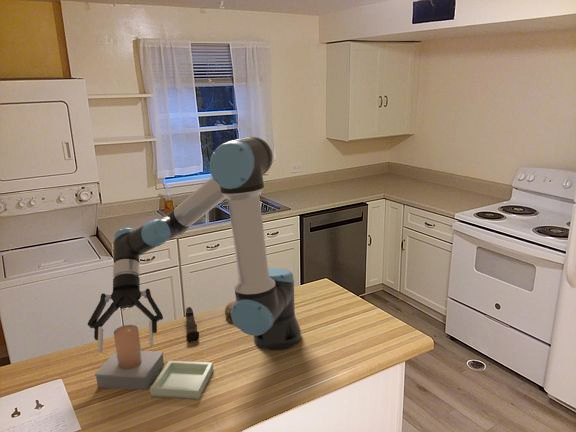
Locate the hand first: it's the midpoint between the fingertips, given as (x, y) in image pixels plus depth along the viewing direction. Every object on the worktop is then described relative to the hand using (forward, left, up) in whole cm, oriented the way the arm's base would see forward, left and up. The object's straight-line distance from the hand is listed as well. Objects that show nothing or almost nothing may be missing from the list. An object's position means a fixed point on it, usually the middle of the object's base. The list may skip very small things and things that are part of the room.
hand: (126, 348), depth 127 cm
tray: (-16, +1, -9) cm, 19 cm away
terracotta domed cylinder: (0, -1, -5) cm, 5 cm away
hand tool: (-8, -28, -10) cm, 31 cm away
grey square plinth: (0, -1, -9) cm, 9 cm away
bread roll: (-22, -39, -10) cm, 46 cm away
